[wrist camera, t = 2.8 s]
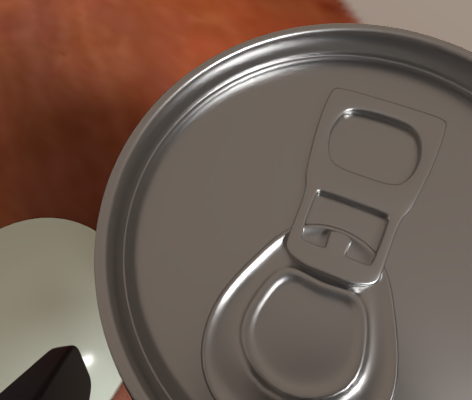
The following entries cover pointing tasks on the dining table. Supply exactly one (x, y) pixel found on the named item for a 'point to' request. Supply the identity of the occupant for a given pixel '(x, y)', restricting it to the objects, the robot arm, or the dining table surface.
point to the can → (297, 224)
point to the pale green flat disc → (51, 300)
